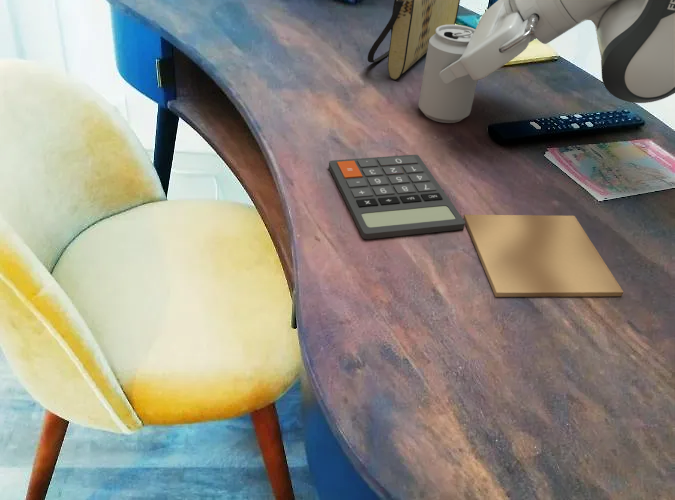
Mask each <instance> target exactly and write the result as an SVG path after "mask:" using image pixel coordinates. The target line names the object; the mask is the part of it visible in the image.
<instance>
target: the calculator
mask: <svg viewBox="0 0 675 500" xmlns="http://www.w3.org/2000/svg"><path fill="white" fill-rule="evenodd" d="M328 169H329V171H330V173H331V175H332V177H333V179H334V181H335V183H336V186H337V188H338V190H339V191H340V194H341V197H342V198H343V200H344V202H345V204H346V207H347V208H348V210H349V213H350V215H351V217H352V219H353V221H354V222H355V225H356V227H357V229H358V231H359V233H360V235H361V238H363V239H364V240H374V239H382V238H383V239H384V238H393V237H404V236H411V235H412V236H413V235H421V234H429V233H431V234H432V233H440V232H451V231H459V230H464V229H465V226H466V224H465V221H464V219H463V218H464V217H463V216H462V215H461V213H460V212H459V211H458V209H457V208H456V206H455V205H454V204H453V202H452V201H451V199H450V198H449V197H448V195H447V194H446V192H445V191H444V190H443V188H442V186H441V185H440V184H439V183H438V181H437V180H436V178H435V176H434V175H433V174H432V172H431V171H430V169H429V168H428V166H427V165H426V164H425V162H424V161H423V159H422V158H421V156H420V155H418V154H404V155H402V154H401V155H389V156H375V157H361V158H349V159H348V158H347V159H346V158H345V159H334V160H333V159H332V160H329V162H328Z"/></svg>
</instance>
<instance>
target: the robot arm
mask: <svg viewBox="0 0 675 500" xmlns="http://www.w3.org/2000/svg"><path fill="white" fill-rule="evenodd" d="M585 21H591V22H592V23H593V25H594V28H595V32H596V41H597V45H598V50H599V54H600V58H601V59H600V68H601V69H600V70H601V79H602V84H603V86H604V87H605V89H606V91H607V92H608V93H609V94H610V95H612V96H613V97H615V98H616V99H618V100H621V101H625V102H627V103H633V104H647V103H654V102H658V101H661V100H664V99H666V98H668V97H671V96H673V95H674V94H675V0H497V1H495V2H494V3H493V4H491V6H489V7H488V8H487V9H486V10H485V11H484V12H483V14H482V15H481V18H480V19H479V21H478V23H477V26H476V27H475V28H474V29H475V31H474V33H473V35H472V37H471V39H470V41H469V43H468V45H467V47H466V49H465V51H464V53H463V55H462V57H461V58H460V59H459V60H457V61H456V62H454V63H450V64H449V65H447V66H446V67H444V68H443V69H442V70H441V72H440V74H439V76H440V78H441V79H442V80H443V82H444V83H446V84H447V83H450V82H451V81H453V80H454V79H456V78H459V77H462V76H465V75H468V74H469V75H470V76H471V78H472V79H473V80H474V81H477V80H478V81H481V80H483V79H485V78H486V77H488V76H490V75H491V74H493V73H495V71H497V70H499V69H501V68H502V67H504V66H505V65H506V64H508V63H510V62H511V61H513V59H516V58H517V57H519V55H520V54H522V53H523V52H524V51H526V49H527V48H528V46H529V44H530V43H531V42H533V41H534V40H538V41H539V42H540V43H541V44H543V45H546V44H549V43H550V42H552V41H554V40H555V39H557V38H559V37H560V36H562V35H563V34H565V33H567V32H568V31H570V30H572V29H574V28H575V27H576V26H578V25H580V24H582V23H584V22H585ZM478 81H477V82H478Z"/></svg>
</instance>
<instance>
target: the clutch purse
mask: <svg viewBox="0 0 675 500" xmlns="http://www.w3.org/2000/svg"><path fill="white" fill-rule="evenodd" d="M460 3H461V0H393V6H392V7H393V8H392V13H391V16H390V18H389V20H388V22H387V24H386V25H385V27H384V28H383V30H382V32H381V33H380V34H379V36H378V37H377V38H376V40H375V41H374V43H373V44H372V46H371V47H370V49H369V51H368V54H367V62H368V63H377V62H379V61H381V60H383V59H384V58H386V57H387V56H388V57H387V71H388V75H389V77H390V79H392V80H394V81H398V80H399V79H400V78H401V77H402V75H403V74H404V73H405V72H406V71H407V70H409V69H410V68H411V67H412V66H413V65H414V64H415V63H416V62H417V61H419V60H420V59H421V58H422V57H423V56H424V55H425V54H427V50H428V44H429V39H430V38H431V37H432V36H433V35H434V34H436V31H435V30H436V29H437V27H439V26H442V25H456V23H457V19H458V14H459V8H460ZM389 33H390V41H389V42H390V43H389V48H388V50H387V51H386V52H384V53H383V54H382V55H380V56H378V57H377V58H374V57H375V53H376V52H377V51H378V48H379V47H380V45H382V43H383V41H384V40H385V39H386V37H387V36H388V34H389Z"/></svg>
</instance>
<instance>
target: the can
mask: <svg viewBox="0 0 675 500" xmlns="http://www.w3.org/2000/svg"><path fill="white" fill-rule="evenodd" d="M475 29H476V28H473V27H470V26H466V25H463V24H455V25H442V26H439V27H437V29H436V30H435V31H436V34H434V35H433V36H432V37H431V38H430V39H429V44H428V50H427V52H426V56H425V62H424V68H423V74H422V79H421V87H420V93H419V98H418V108H419V109H420V111H421V112H422V114H424V116H425V117H426V118H428V119H429V120H432V121H433V122H439V123H444V124H455V123H458V122H461V121H463V120H464V119H466V118H467V117H469V116H470V115H471V111H472V108H473V103H474V99H475V95H476V90H477V86H478V82H479V80H477V81H474V80H473V79H472V78H471V76H470V75H469V74H468V75H465V76H462V77H459V78H456V79H454V80H453V81H451V82H450V83H447V84H446V83H444V82H443V80H442V79H441V78H440V76H439V74H440V72H441V70H442V69H443V68H444V67H446V66H447V65H449V64H450V63H454V62H456V61H457V60H459V59H460V58H461V57H462V55H463V53H464V51H465V49H466V47H467V45H468V43H469V41H470V39H471V37H472V35H473V33H474V31H475Z"/></svg>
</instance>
